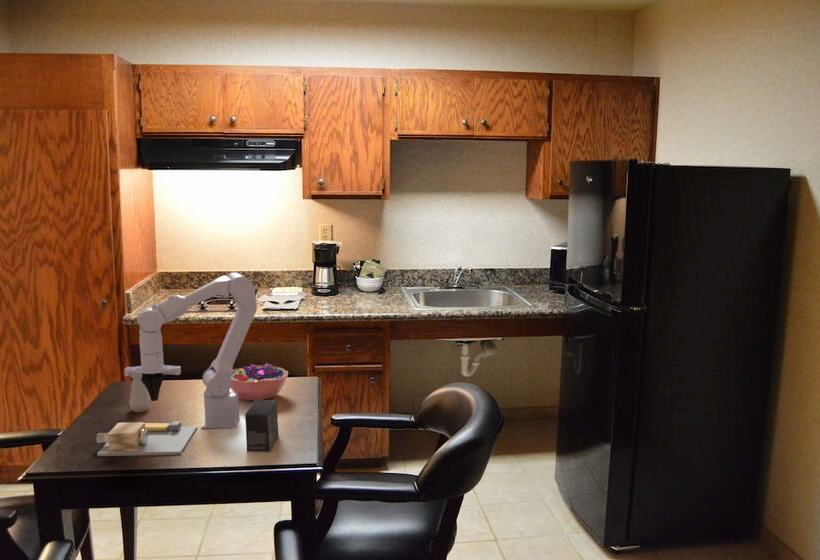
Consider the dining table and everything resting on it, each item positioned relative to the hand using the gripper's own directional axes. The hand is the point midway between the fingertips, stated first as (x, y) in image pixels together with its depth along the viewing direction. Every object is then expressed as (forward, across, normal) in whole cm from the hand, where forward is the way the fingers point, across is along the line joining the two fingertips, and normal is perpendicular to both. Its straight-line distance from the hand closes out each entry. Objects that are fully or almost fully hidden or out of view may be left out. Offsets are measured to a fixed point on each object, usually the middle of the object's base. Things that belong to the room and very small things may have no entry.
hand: (154, 399), depth 185 cm
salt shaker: (+10, +11, -18) cm, 24 cm away
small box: (+10, -30, +8) cm, 33 cm away
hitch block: (+10, +5, +10) cm, 14 cm away
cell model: (+10, -23, -28) cm, 38 cm away
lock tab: (+8, 0, 0) cm, 8 cm away
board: (+10, 0, +6) cm, 11 cm away
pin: (+9, +6, +9) cm, 14 cm away
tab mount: (+10, -5, 0) cm, 11 cm away
